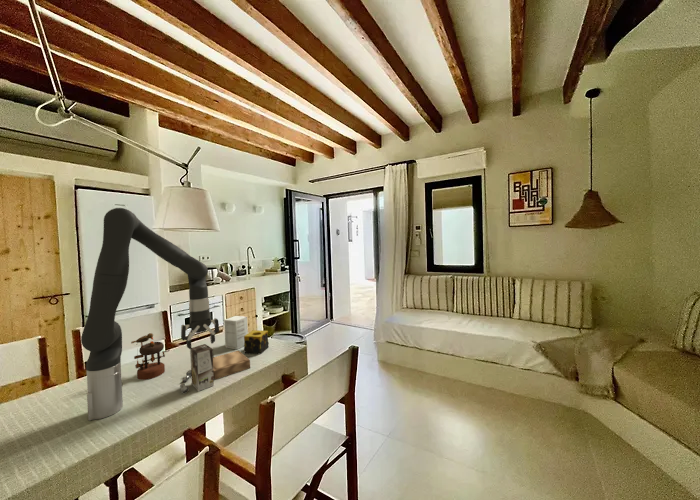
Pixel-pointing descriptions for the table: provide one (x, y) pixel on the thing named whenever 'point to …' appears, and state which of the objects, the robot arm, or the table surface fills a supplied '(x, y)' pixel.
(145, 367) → the music box
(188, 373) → the bolt
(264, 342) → the yellow black tissue box
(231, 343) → the supplement box
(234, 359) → the stand
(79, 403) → the table surface
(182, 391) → the bolt
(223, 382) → the table surface
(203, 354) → the coffee box
